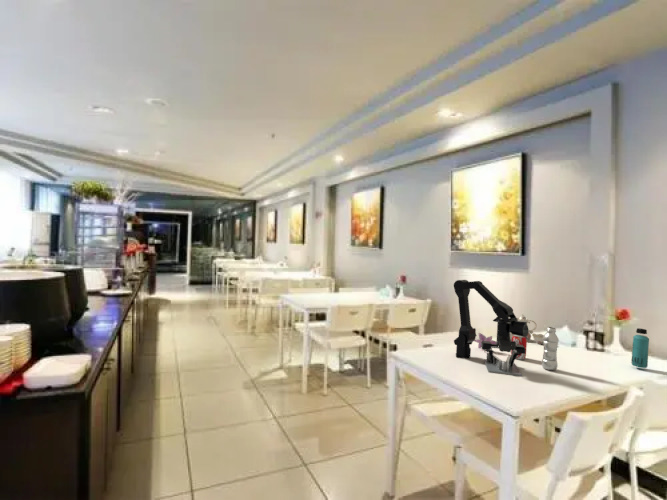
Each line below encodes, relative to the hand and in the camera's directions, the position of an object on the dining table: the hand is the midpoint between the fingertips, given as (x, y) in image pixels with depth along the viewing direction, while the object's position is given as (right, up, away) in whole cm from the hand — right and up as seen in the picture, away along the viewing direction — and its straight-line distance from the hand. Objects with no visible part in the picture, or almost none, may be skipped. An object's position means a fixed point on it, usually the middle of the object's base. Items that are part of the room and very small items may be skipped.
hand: (501, 365), depth 181 cm
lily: (+4, -1, +29) cm, 30 cm away
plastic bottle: (+23, -3, +1) cm, 23 cm away
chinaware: (+37, -2, +55) cm, 67 cm away
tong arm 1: (-3, 0, +2) cm, 4 cm away
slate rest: (0, -1, 0) cm, 1 cm away
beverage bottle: (+72, -5, +8) cm, 72 cm away
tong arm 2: (+3, -1, 0) cm, 4 cm away
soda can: (+16, -2, +17) cm, 24 cm away
